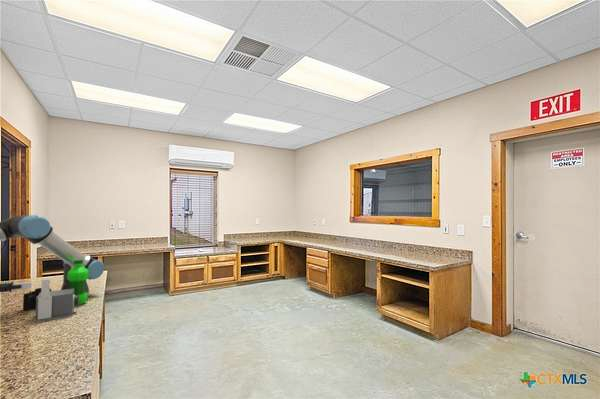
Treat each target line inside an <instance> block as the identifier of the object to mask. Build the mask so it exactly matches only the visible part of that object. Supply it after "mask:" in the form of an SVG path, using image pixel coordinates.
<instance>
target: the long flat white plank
mask: <svg viewBox="0 0 600 399" xmlns="http://www.w3.org/2000/svg"><path fill="white" fill-rule="evenodd" d="M50 281H51V279H50V278H48V279H41V284H40V285H41V287H40V288H41V298H38V320H39V319H45V318H51V316H52V296H51V297H49V293H50V289H51V287H50V286H51V282H50Z"/></svg>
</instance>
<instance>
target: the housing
mask: <svg viewBox="0 0 600 399" xmlns="http://www.w3.org/2000/svg"><path fill="white" fill-rule="evenodd" d="M51 296H52V316H51V318H45V319H39V320H38V298H41V292H40V294H39V295H38V296H37V298H36V308H35V323H36V322H37V323H39V322H45V321H50V320H57V319H63V318H65V319H66V318H71V317H72V316H73V313H74V309H75V307H76V306H80V305H79V295H77V296H75V294H74V289H65V290H61V289H59V290H51V291H50V293H49V297H51Z"/></svg>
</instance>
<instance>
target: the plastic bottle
mask: <svg viewBox="0 0 600 399" xmlns="http://www.w3.org/2000/svg"><path fill="white" fill-rule="evenodd" d="M82 263H83V260H74V264H75V267H74V268H72V269H71V270H70V271H69V272H68V274H67V280H68V281H70V289H74V294H75V296H77V295H79V305H78V306H81V305H83V304H84V303H86V302H87V301H88V298H89V297H88V295H89V294H88V293H87V292H86V282H87V280H89V279H88V277H89V271H88V269H86V268H85V267H83V266H82Z"/></svg>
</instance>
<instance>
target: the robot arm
mask: <svg viewBox="0 0 600 399" xmlns="http://www.w3.org/2000/svg"><path fill="white" fill-rule="evenodd" d="M15 238H23V239H25V240H26V241H27V242H30V243H31V244H32V245H37V244H38V245H40V246H41V247H42V248H44V249H46V250H47V251H48V252H50V253H51V254H53V255H54V256H55V257H57V258H58V259H60V260H61V261H63V264H62V266H63V275H62V276H63V280H62V284H61V288H60V290H65V289H70V281H68V280H67V274H68V272H69V271H70V270H71V269H72V268H74V267H75V264H74V260H83V263H82V266H83V267H85V268H86V269H88V271H89V277H88V279H87V280H89V281H90V280H96V279H99V278H100V277H101V276H102V275H103V273H104V271H105V263H104V262H103V261H102V260H100V259H95V258H94V257H92V256H91V255H90V254H83V253H82V252H81V251H79V250H78V249H77V248H76V247H74V246H73V245H71V244H70V243H69V242H68V241H66V240H65V239H63V237H61V236H59V235H58V234H57V233H55V232H54V228H53V227H52V226H51V223H50V221H49V220H48V219H47V218H46V217H44V216H41V215H36V214H34V215H33V214H31V215H29V214H28V215H22V214H21V215H15V216H12V217H11V216H10V217H9V218H6V219H4V220H1V221H0V242H4V241H7V240H9V239H15ZM32 283H33V282H31V281H29V282H28V281H27V282H18V283H17V282H16V283H14V281H11V282H7V283H0V293H5V292H6V293H7V292H9V293H12V291H19V290H27V289H28V290H29V289H32V286H33V285H32ZM86 292H87V294H88V293H89V292H90V288H89V285H88V282H87V281H86Z"/></svg>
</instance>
